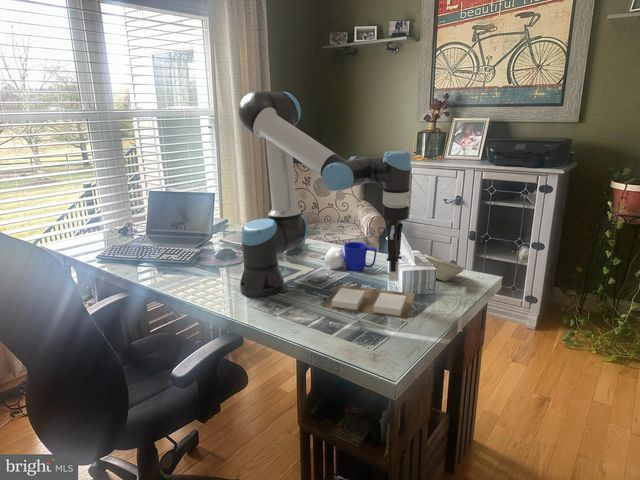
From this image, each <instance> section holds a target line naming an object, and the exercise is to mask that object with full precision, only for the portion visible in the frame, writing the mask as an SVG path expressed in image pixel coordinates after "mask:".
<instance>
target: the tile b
mask: <svg viewBox="0 0 640 480" xmlns="http://www.w3.org/2000/svg"><path fill="white" fill-rule="evenodd" d="M405 303H406V296H403V295H395V294H386V293H380V295H379V297H378V299H377V300H376V302H375V304H374V308H373V312H376V313H383V314H390V315H397V316H401V313H402V310H403V308H404V305H405Z"/></svg>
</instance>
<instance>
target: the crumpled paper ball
mask: <svg viewBox="0 0 640 480" xmlns="http://www.w3.org/2000/svg"><path fill="white" fill-rule="evenodd" d="M324 264H325V265H326V267H327V269H328V270H329V271H332V270H341V269H342V268H343V267H344V266H345V265H346V263H345V251H344V249H343V247H338V246H337V247H335V246H330V249H329V250H328V251H327V253H326V254H325V255H324Z"/></svg>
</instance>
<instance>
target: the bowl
mask: <svg viewBox="0 0 640 480" xmlns="http://www.w3.org/2000/svg"><path fill="white" fill-rule="evenodd" d="M422 255H423V256H424V257H425V258H426V259H427V260H428V261H429V262H430V263H431V264H433V266H434V267H435V268H436V269H437V280H441V281H444V282H448V281H450V280H451V279H452V278H454V277H455V276H457V275H459V274H460V273H462V272H463V271H465V267H464V266H461V265H457V264H455V263H452V262H450V261H446V260H443V259H440V258H439V257H437V256H436V255H435V256H434V255H431V254H429V253H425V254H422ZM423 256H422V257H423ZM424 257H423V258H424Z"/></svg>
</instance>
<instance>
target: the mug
mask: <svg viewBox="0 0 640 480" xmlns="http://www.w3.org/2000/svg"><path fill="white" fill-rule="evenodd" d="M343 248H344V249H343V252H344V255H345V269H346V270H347V271H348V272H349V271H351V272H358V273H361V272H363V271H364V269H365V268H372V267H373V266H374V265H375V264H376V258H377V251H378V250H377V248H376V247H371V246H370V247H367V244H365V243H364V242H360V241H352V242H351V241H350V242H346V243H345V244H344V245H343ZM368 251H374V256H373V261H372V263H371V264H370V265H368V264H367V252H368Z"/></svg>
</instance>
